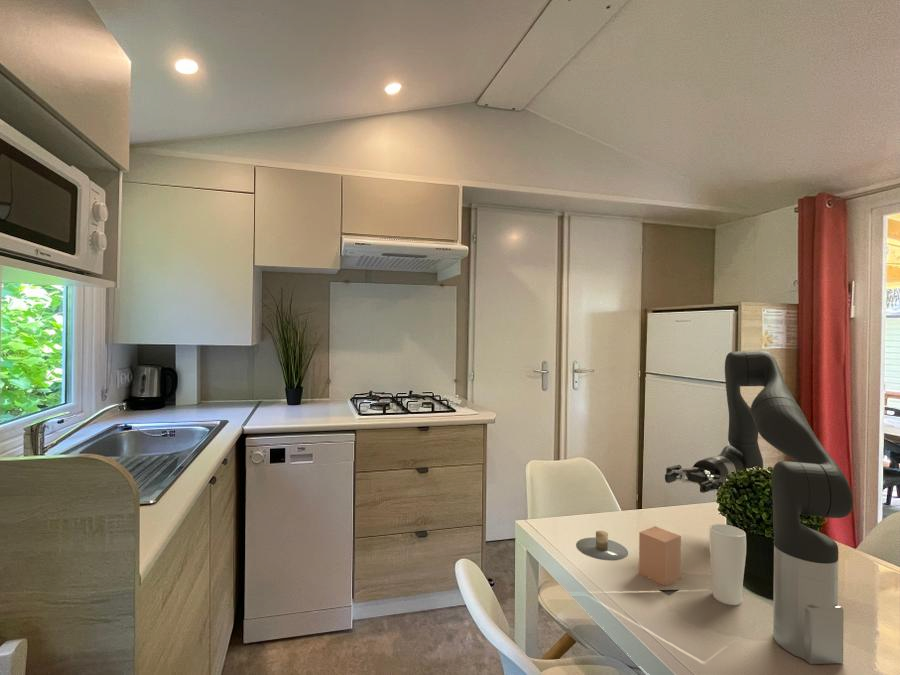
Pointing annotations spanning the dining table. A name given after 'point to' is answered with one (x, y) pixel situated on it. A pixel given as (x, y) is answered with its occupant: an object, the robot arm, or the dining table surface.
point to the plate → (612, 553)
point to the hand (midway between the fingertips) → (683, 483)
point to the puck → (602, 540)
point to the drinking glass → (727, 562)
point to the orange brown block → (660, 555)
